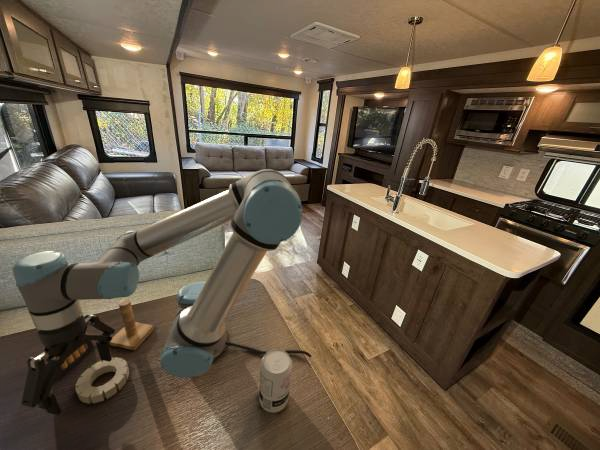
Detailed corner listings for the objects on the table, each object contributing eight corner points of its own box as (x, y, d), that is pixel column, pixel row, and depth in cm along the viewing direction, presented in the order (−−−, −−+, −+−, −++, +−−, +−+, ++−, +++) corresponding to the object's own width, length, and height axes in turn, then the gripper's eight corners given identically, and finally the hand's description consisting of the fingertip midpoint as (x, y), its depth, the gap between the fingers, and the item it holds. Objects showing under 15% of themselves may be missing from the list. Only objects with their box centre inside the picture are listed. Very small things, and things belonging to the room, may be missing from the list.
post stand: (154, 328, 86) (147, 295, 80) (134, 350, 78) (126, 315, 72) (130, 324, 87) (122, 291, 81) (109, 345, 79) (98, 309, 73)
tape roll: (138, 367, 73) (136, 361, 72) (105, 407, 63) (103, 401, 62) (104, 360, 74) (102, 354, 73) (66, 398, 64) (63, 392, 63)
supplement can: (261, 382, 72) (263, 345, 66) (289, 385, 72) (293, 348, 66) (256, 412, 65) (257, 374, 59) (287, 415, 65) (291, 377, 59)
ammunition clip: (57, 379, 68) (43, 348, 63) (51, 377, 68) (37, 346, 63) (94, 347, 78) (84, 318, 73) (89, 346, 78) (79, 317, 73)
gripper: (95, 282, 65) (111, 340, 74) (-34, 367, 43) (9, 437, 51) (121, 287, 65) (134, 345, 73) (3, 375, 42) (41, 445, 50)
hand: (83, 383), depth 62 cm, fingers open, 13 cm apart
